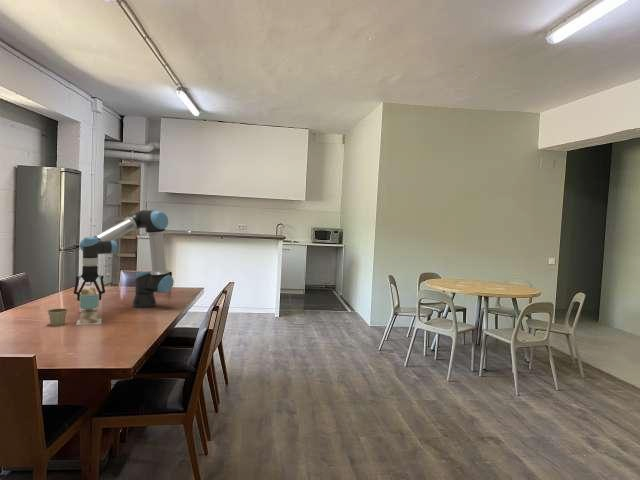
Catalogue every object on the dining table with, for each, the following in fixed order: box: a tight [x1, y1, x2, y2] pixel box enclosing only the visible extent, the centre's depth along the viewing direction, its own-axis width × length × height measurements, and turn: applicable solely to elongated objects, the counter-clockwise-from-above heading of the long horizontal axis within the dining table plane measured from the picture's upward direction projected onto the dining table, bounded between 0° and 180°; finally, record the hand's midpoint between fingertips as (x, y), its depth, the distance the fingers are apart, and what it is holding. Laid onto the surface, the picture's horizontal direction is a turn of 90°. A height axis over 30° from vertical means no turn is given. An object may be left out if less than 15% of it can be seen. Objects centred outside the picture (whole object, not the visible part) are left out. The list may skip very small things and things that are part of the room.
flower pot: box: [47, 308, 69, 327], centre depth 237 cm, size 9×9×9 cm
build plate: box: [76, 318, 102, 326], centre depth 245 cm, size 12×12×1 cm
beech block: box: [80, 308, 99, 325], centre depth 245 cm, size 8×8×6 cm
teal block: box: [80, 294, 98, 310], centre depth 245 cm, size 8×8×6 cm
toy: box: [80, 286, 98, 310], centre depth 272 cm, size 10×8×15 cm
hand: (89, 306), depth 245 cm, fingers closed on teal block, 8 cm apart
